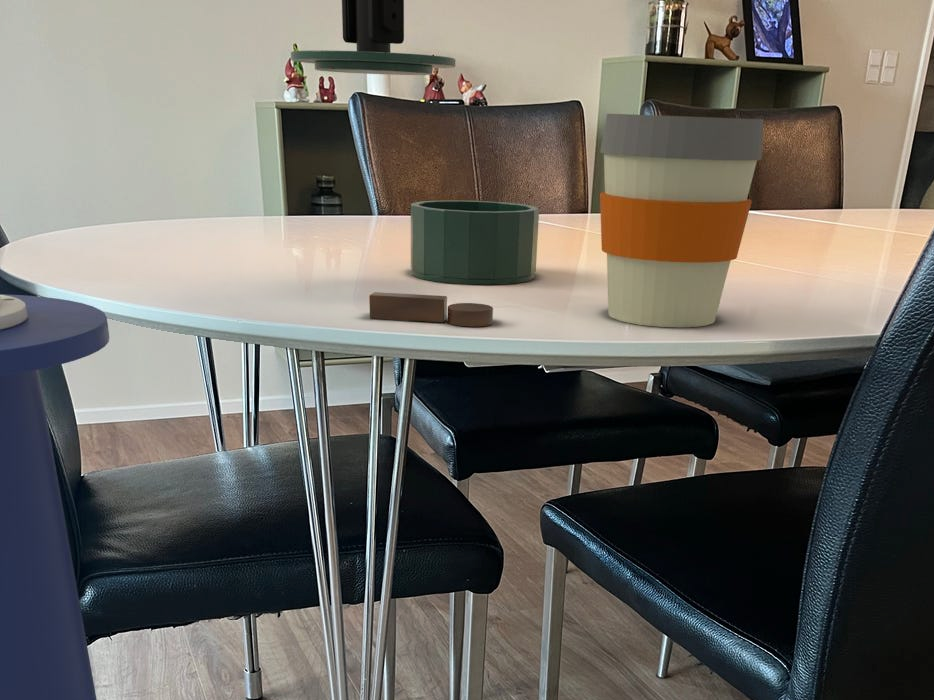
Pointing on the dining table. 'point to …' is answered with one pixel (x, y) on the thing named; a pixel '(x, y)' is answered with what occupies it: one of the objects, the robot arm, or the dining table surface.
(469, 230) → the tin
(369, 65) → the lid
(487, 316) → the wooden bar and disc
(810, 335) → the dining table surface
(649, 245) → the reusable coffee cup
